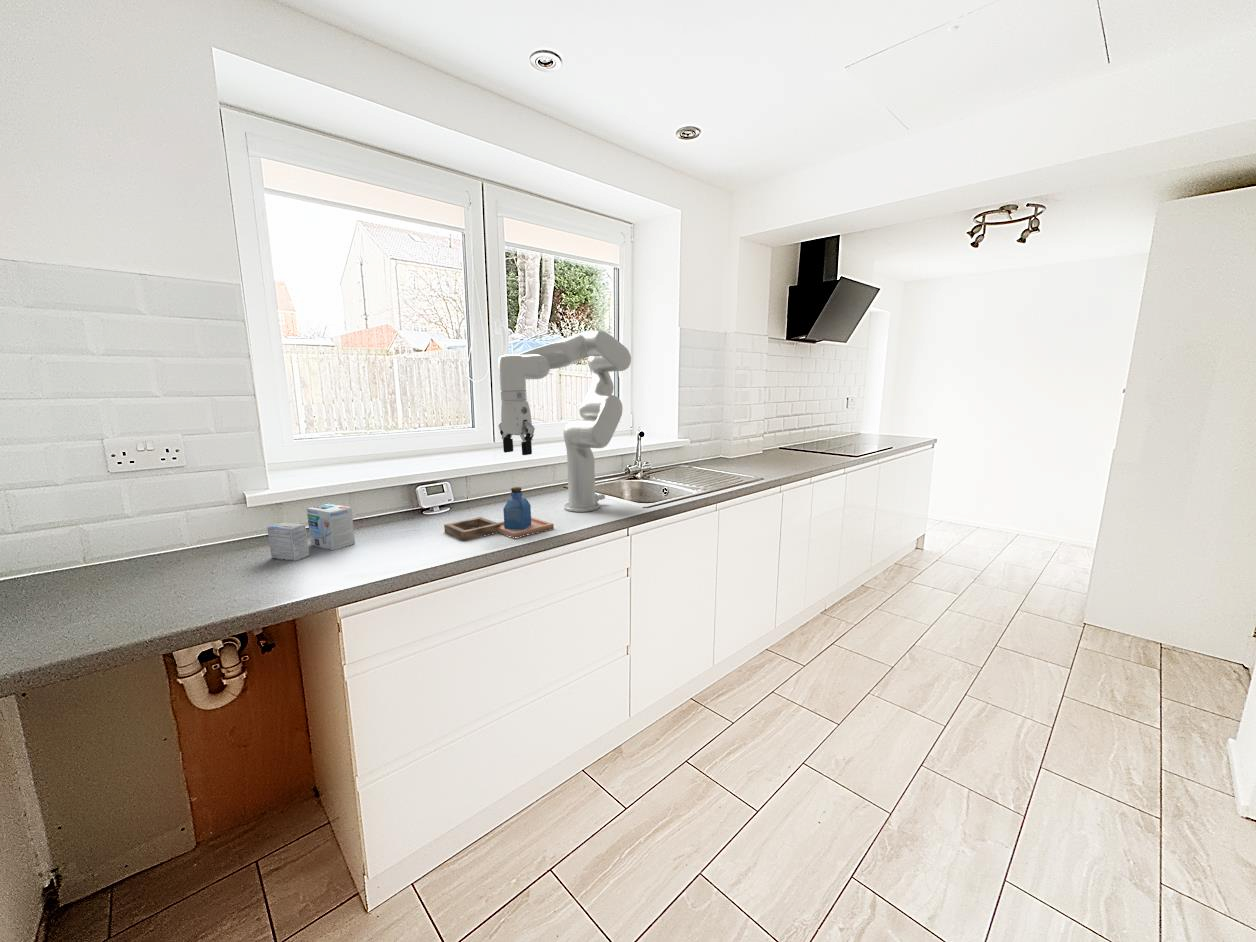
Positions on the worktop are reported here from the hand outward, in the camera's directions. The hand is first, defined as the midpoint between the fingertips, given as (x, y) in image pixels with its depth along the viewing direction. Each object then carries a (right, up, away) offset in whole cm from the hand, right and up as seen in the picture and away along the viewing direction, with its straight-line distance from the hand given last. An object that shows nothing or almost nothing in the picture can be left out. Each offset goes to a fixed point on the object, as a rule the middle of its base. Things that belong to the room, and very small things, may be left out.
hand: (517, 453), depth 154 cm
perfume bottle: (0, -23, 0) cm, 23 cm away
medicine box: (-54, -28, -23) cm, 65 cm away
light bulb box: (-49, -26, -13) cm, 57 cm away
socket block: (-13, -24, -2) cm, 27 cm away
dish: (+1, -23, 0) cm, 23 cm away
